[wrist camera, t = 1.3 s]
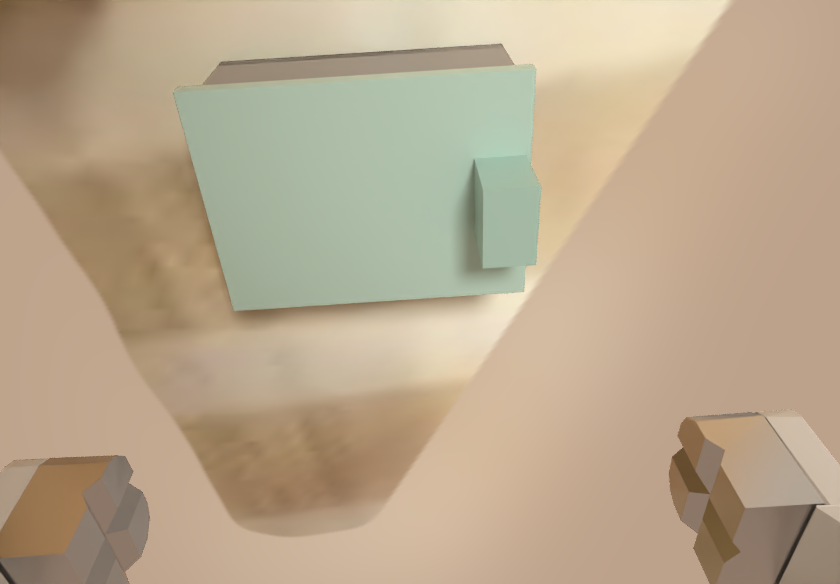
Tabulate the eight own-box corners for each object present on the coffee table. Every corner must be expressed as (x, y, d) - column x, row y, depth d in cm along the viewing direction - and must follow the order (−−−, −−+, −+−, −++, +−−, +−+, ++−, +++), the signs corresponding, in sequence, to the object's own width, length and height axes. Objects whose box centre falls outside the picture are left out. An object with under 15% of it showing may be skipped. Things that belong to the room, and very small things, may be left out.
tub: (221, 61, 33) (192, 97, 28) (501, 43, 33) (521, 75, 28) (261, 240, 39) (243, 294, 34) (497, 224, 39) (512, 276, 35)
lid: (177, 86, 28) (147, 119, 24) (532, 63, 28) (553, 93, 24) (236, 302, 35) (219, 352, 31) (521, 283, 35) (536, 331, 31)
